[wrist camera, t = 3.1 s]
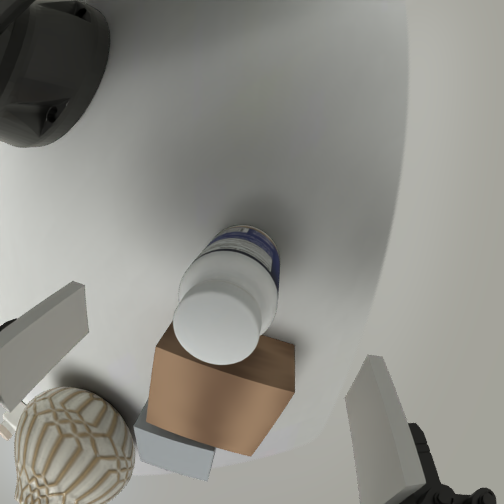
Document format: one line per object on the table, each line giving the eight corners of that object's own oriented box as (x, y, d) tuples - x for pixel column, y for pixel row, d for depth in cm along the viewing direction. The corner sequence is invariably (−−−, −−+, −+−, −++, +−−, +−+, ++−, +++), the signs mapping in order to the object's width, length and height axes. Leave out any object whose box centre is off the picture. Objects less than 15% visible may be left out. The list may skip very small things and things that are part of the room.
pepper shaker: (19, 405, 38) (-4, 431, 29) (17, 396, 36) (-7, 424, 27) (33, 417, 38) (11, 445, 29) (31, 409, 37) (8, 438, 28)
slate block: (156, 426, 30) (140, 460, 25) (154, 387, 28) (133, 426, 22) (217, 443, 30) (207, 481, 24) (225, 407, 27) (214, 451, 22)
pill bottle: (259, 303, 23) (241, 391, 13) (198, 271, 22) (145, 344, 13) (293, 245, 21) (298, 314, 12) (227, 210, 21) (180, 253, 11)
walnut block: (166, 381, 27) (146, 421, 21) (182, 305, 24) (155, 346, 18) (257, 411, 27) (250, 456, 21) (294, 343, 24) (294, 392, 18)
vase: (41, 380, 32) (-28, 461, 13) (84, 353, 27) (-14, 474, 9) (110, 448, 35) (64, 534, 16) (172, 440, 31) (124, 563, 12)
